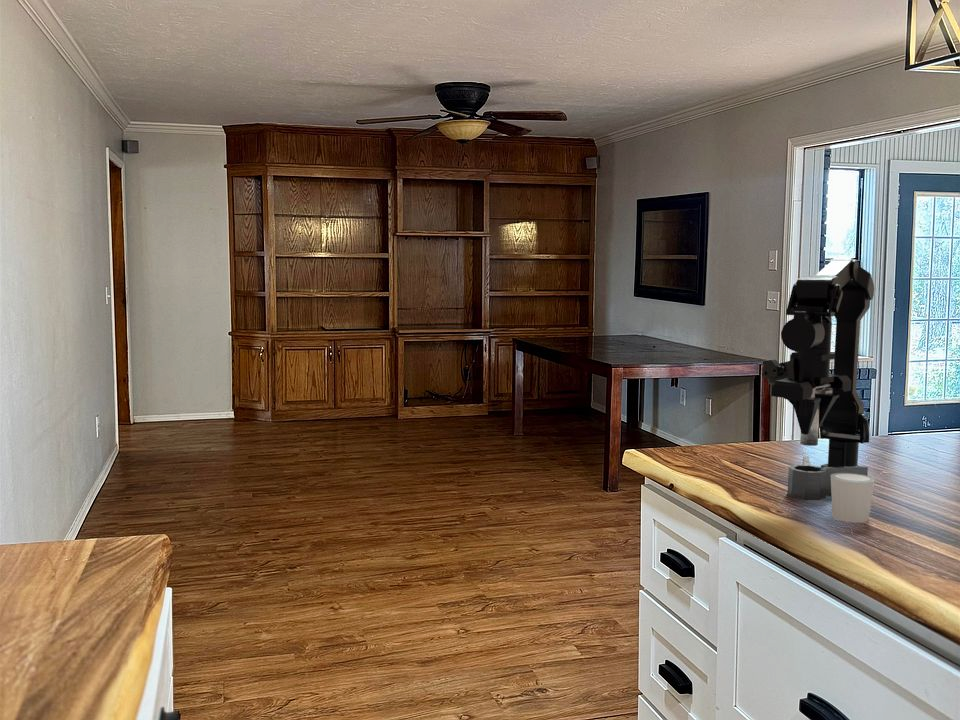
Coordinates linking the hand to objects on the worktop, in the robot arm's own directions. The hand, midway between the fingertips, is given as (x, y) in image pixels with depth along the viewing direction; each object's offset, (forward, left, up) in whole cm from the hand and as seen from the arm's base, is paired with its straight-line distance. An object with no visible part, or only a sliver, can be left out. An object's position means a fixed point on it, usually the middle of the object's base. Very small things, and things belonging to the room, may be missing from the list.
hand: (809, 433), depth 159 cm
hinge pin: (0, 0, -2) cm, 2 cm away
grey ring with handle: (-4, 0, -12) cm, 12 cm away
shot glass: (+8, +12, -12) cm, 19 cm away
